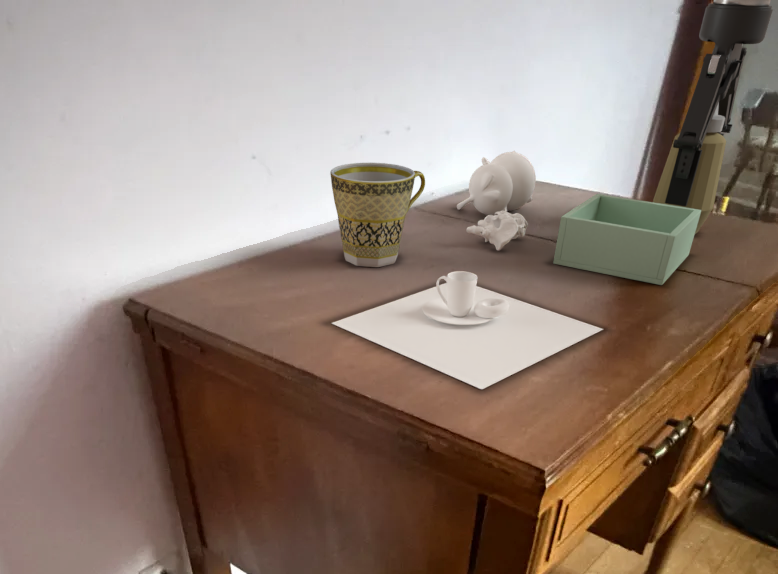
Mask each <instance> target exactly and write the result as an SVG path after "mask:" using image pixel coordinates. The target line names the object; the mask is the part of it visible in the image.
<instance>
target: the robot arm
mask: <svg viewBox="0 0 778 574" xmlns="http://www.w3.org/2000/svg"><path fill="white" fill-rule="evenodd" d="M771 1H772V0H713V2H712V3H708V5H707V6H706V7H705V10H704V14H703V17H702V21H701V25H700V29H699V35H698V37H699V39H700V40H701V41H703V42H706V43H707V42H708V43H714V48H713V49H712V53H705V55H704V57H703V60H702V66H701V69H700V73H699V77H698V80H697V82H696V85H695V89H694V91H693V93H692V97H691V100H690V103H689V106H688V109H687V112H686V114H685V117H684V121H683V122H682V123H683V124H682V127H681V129H680V132H679V133H680V135H679V137H678V139H677V140H676V139H675V140H674V139H673V141H674V143H673V142H672V144H673V148H679V150H678V154H677V158H676V162H675V166H674V170H673V173H672V177H671V181H670V185H669V189H668V193H667V196H666V200H665V203H667V204H674V205H680V206H687V203H688V200H689V196H690V192H691V189H692V185H693V182H694V178H695V175H696V171H697V167H698V164H699V160H700V157H701V153H702V150H700V148H701V147H702V143H703V140H704V138H705V135H706V133H707V130H708V128H709V125H710V123H711V120H712V118H713V115H714V113H715V110H716V108H717V105H718V103H719V107H718V115H721V116H724V117H725V121H724V125H723V128H722V131H721V132H717V133H719V134H721V135H722V136H723V137H724V135H725V134H730V133H731V131H732V128H733V124H730V123H731V120H732V119H731V118H732V113H733V108H734V104H735V99H736V95H737V91H738V86H739V83H740V77H741V72H742V69H743V66H744V61H745V57H746V56H747V52H748V51H747V47H743V45H757V44H760V43H763V41H764V40H765V38H766V35H767V34H766V33H767V30H768V28H769V24H770V21H771V17H772V14H773V10H774V9H773V7H772V5H771Z"/></svg>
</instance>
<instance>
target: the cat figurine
mask: <svg viewBox="0 0 778 574" xmlns="http://www.w3.org/2000/svg"><path fill="white" fill-rule="evenodd" d="M481 163H482V165H480V166H479V167H477V168H476V169H475V170H474V171H473V173H472V174H471V176H470V179H469V182H468V194H469V197H467V198H466V199H464V200H462V201H460V202H459V203H457V204H456V208H457V210H458V211H459V210H461V209H463V208H464V207H466V206H467V205H468V204H470V203H472V205H473V207H474V208H475V209H476V210H477V211H478V212H479V213H480V214H483V215H485V216H488V215H493V216H494V215H496V214H495V213H496V212H500V211H501V210H503V211H506V212H508V211H509V212H510V211H516V210H518V209H520V208H522V207H523V206H524V205H526V204H528V203H531V202H532V201H533V198H532V197H533V194H534V191H535V187H536V182H537V181H536V180H537V179H536V177H537V176H536V171H535V168H534V165H533V164H532V162H531V161H530V160H529V158H527V157H526V156H525V155H523V154H522V153H519V152H516V151H515V150H513V151H507V152H502V153H501V154H498V155H497V156H495V158H493V159H492V161H490V160H489V159H488V158H487V157H485V156H483V157H482V158H481Z"/></svg>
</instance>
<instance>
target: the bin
mask: <svg viewBox="0 0 778 574" xmlns="http://www.w3.org/2000/svg"><path fill="white" fill-rule="evenodd" d="M700 214H701V210H698V209H693V208H686V207H680V206H673V205H667V204H660V203H654V202H653V201H646V200H640V199H633V198H628V197H627V198H626V197H621V196H615V195H609V194H603V193H602V194H601V193H596V194H594V195H593V196H591V197H589V198H588V199H587V200H585V201H583V202H581V203H580V204H579V205H577V206H575V207H574V208H572V209H571V210H570V211H568V212H566V213H565V214H563V215H561V217H560V221H559V227H558V233H557V239H556V245H555V250H554V257H553V262H552V263H553V264H554V265H558V266H563V267H568V268H574V269H579V270H583V271H588V272H593V273H599V274H603V275H609V276H612V277H613V276H614V277H618V278H623V279H624V278H625V279H628V280H634V281H638V282H643V283H648V284H652V285H659V286H663V285H664V284H665V283H666V281H667V280H668V279H669V278H670V277H671V276H672V275H673V273H674V272H676V270H677V269H678V268H679V267H680V266H681V265H682V264H683V262H684V261H685V260H686V259H687V258H688V257H689V255H690V253H691V252H690V251H691V248H692V246H693V241H694V238H695V236H696V234H695V231H696V228H697V224H698V221H699V217H700Z"/></svg>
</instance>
